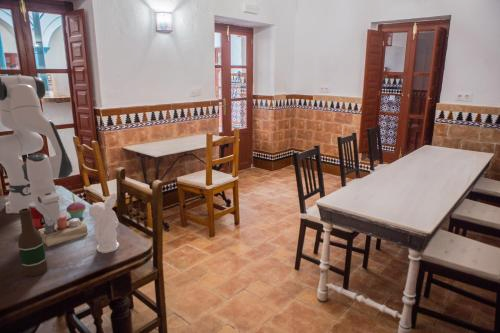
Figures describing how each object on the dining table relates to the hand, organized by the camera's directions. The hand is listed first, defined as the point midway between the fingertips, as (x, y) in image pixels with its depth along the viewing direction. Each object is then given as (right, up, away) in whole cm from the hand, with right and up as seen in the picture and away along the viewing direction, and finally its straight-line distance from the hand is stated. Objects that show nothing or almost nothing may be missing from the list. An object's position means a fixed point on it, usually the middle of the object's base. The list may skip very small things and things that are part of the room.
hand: (49, 224), depth 151 cm
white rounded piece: (+7, -5, +9) cm, 12 cm away
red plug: (+3, -3, +4) cm, 6 cm away
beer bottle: (+7, -14, -21) cm, 26 cm away
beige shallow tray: (+3, -6, +5) cm, 9 cm away
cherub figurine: (+25, -9, -3) cm, 27 cm away
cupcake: (0, -1, +25) cm, 25 cm away
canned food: (-12, -3, +16) cm, 21 cm away
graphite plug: (0, -5, +2) cm, 6 cm away
